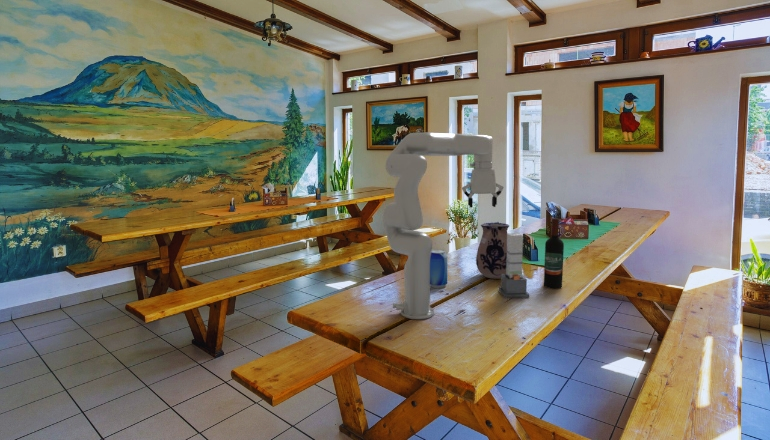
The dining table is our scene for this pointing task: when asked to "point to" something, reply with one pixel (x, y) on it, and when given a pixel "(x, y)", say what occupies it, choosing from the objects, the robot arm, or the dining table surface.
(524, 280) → the stand base
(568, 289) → the dining table surface
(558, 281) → the wine bottle
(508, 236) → the column
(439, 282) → the beer can
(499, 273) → the ceramic pitcher
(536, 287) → the dining table surface
